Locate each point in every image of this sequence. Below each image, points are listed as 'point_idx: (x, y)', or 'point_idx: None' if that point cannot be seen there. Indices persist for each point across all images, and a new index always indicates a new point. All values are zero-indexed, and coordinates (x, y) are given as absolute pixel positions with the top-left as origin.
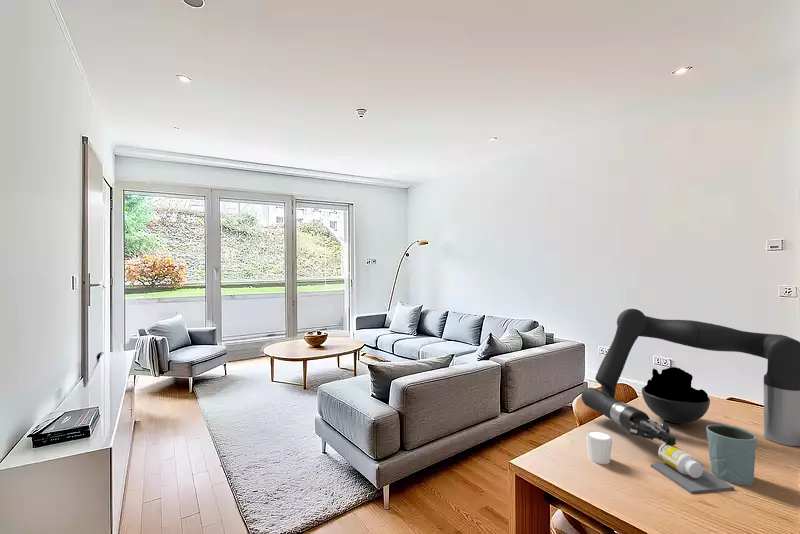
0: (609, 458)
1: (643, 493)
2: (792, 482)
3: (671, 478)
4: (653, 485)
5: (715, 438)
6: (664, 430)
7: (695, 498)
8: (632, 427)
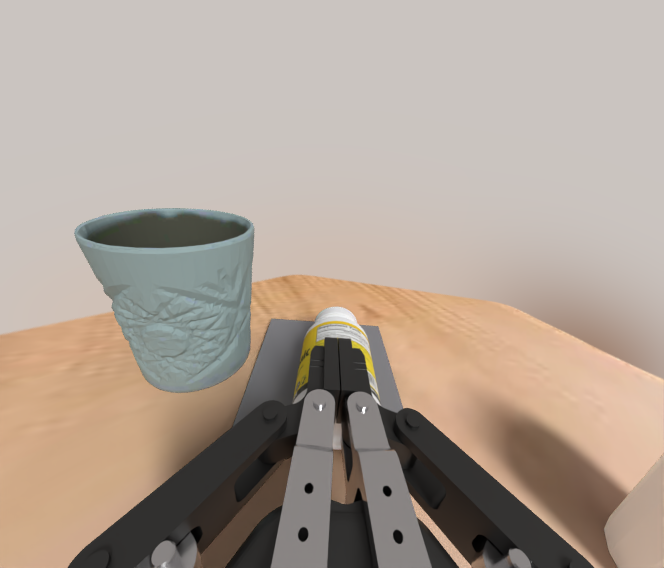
0: (617, 510)
1: (481, 347)
2: (98, 315)
3: (389, 365)
4: (448, 363)
5: (252, 247)
6: (317, 394)
7: (379, 321)
8: (570, 553)
